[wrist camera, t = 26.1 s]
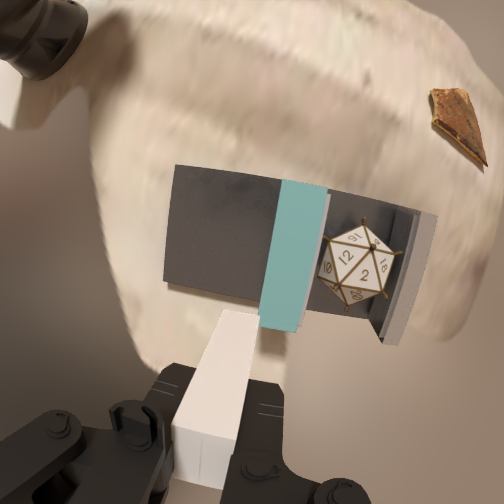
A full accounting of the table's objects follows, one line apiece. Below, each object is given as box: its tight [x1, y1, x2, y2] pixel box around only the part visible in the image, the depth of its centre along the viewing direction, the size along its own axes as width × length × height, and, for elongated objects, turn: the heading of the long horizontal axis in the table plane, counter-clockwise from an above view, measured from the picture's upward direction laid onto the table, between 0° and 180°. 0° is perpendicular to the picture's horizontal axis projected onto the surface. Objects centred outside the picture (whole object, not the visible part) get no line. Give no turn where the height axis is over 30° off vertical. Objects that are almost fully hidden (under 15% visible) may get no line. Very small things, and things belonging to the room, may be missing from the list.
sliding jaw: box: [258, 179, 331, 333], centre depth 29 cm, size 14×4×6 cm, turn 171°
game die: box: [313, 216, 403, 314], centre depth 28 cm, size 9×8×10 cm
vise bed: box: [163, 165, 438, 345], centre depth 30 cm, size 14×28×8 cm, turn 81°
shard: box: [430, 88, 488, 167], centre depth 27 cm, size 11×8×2 cm
